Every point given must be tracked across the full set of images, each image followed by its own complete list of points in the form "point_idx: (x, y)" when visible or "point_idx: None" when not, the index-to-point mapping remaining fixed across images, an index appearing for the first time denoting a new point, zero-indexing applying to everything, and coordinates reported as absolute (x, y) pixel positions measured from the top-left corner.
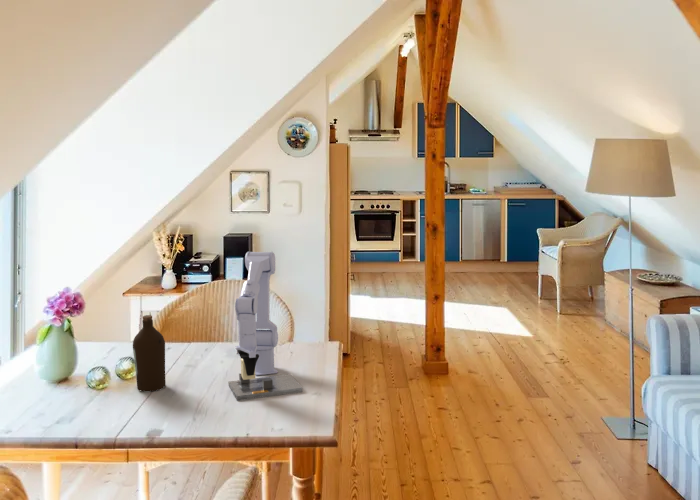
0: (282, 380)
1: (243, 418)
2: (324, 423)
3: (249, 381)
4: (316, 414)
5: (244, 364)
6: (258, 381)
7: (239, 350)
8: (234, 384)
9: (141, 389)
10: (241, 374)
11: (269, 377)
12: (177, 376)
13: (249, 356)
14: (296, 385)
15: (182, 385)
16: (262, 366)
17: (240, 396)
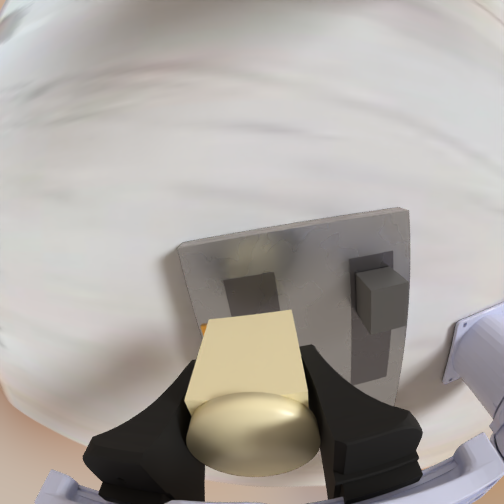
0: None
1: (26, 262)
2: (46, 420)
3: (359, 316)
4: (83, 428)
5: (189, 403)
6: (362, 347)
7: (381, 447)
8: (361, 239)
9: None
10: (280, 318)
11: (390, 380)
12: (496, 44)
13: (50, 477)
14: None
15: (425, 25)
16: (471, 357)
17: (182, 264)
